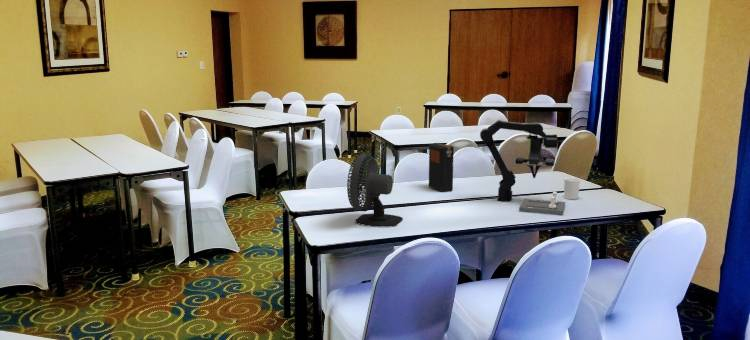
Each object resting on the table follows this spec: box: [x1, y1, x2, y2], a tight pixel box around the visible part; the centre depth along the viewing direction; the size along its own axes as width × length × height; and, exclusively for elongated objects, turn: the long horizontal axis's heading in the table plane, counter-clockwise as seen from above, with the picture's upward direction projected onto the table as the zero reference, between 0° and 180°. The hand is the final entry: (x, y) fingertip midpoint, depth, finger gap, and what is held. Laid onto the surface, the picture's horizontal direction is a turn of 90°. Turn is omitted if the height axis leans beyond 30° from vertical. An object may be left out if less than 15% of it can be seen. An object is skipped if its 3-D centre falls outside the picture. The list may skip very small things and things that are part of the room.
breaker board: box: [518, 198, 566, 216], centre depth 293 cm, size 20×18×2 cm
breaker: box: [549, 195, 556, 208], centre depth 286 cm, size 3×4×5 cm
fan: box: [346, 154, 404, 227], centre depth 271 cm, size 26×26×30 cm
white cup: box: [563, 177, 581, 200], centre depth 313 cm, size 8×8×10 cm
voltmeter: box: [428, 142, 455, 193], centre depth 332 cm, size 16×9×25 cm, turn 25°
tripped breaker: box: [552, 191, 559, 203], centre depth 295 cm, size 3×4×5 cm
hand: (534, 177), depth 306 cm, fingers closed
